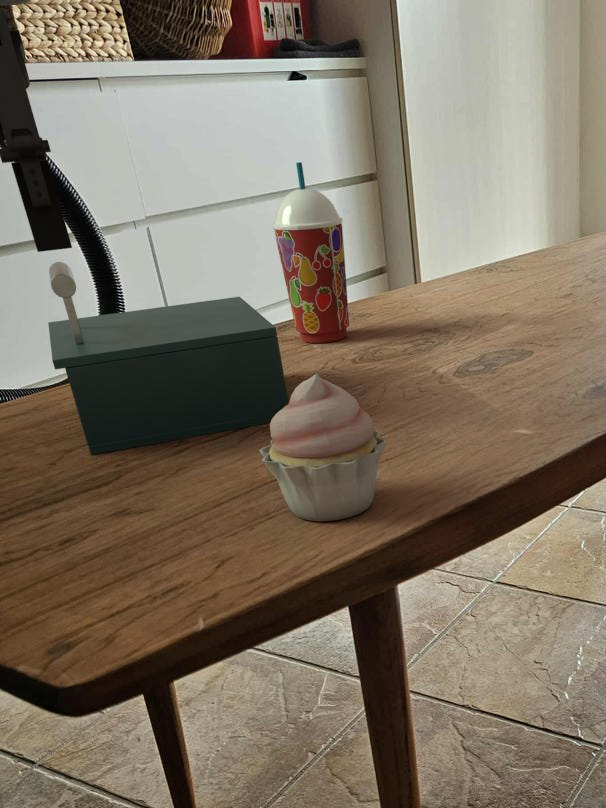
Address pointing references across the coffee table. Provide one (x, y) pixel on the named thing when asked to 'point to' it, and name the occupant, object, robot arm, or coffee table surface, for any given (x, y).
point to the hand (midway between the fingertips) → (53, 241)
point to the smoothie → (313, 263)
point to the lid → (147, 327)
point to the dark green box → (178, 394)
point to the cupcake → (324, 452)
